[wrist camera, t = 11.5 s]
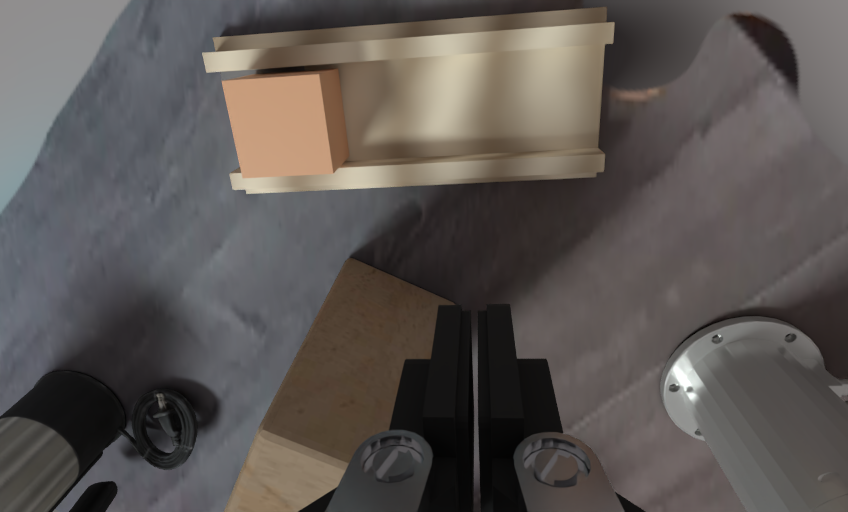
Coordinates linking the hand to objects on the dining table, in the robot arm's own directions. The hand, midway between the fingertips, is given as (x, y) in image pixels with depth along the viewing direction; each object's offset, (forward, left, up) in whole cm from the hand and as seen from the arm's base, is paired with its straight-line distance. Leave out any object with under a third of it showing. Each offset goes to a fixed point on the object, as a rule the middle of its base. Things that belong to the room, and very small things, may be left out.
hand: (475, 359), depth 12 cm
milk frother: (+35, +25, -28) cm, 51 cm away
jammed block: (+12, -2, -26) cm, 29 cm away
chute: (+4, -2, -27) cm, 28 cm away
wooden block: (+8, +16, -28) cm, 33 cm away
